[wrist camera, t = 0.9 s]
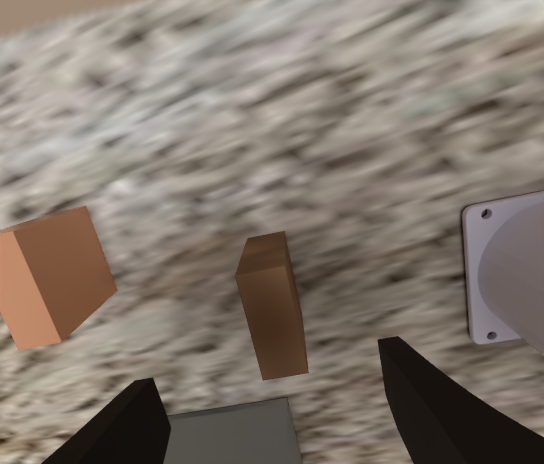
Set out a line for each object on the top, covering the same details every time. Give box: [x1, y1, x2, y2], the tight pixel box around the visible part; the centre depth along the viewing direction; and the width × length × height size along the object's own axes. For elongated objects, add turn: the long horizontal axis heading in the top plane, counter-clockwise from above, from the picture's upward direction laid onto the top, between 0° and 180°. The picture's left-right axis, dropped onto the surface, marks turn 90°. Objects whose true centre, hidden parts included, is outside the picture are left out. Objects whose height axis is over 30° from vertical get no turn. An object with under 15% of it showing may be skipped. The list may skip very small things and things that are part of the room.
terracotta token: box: [0, 206, 117, 350], centre depth 16 cm, size 2×5×5 cm, turn 12°
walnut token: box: [235, 231, 309, 380], centre depth 16 cm, size 2×5×5 cm, turn 12°
